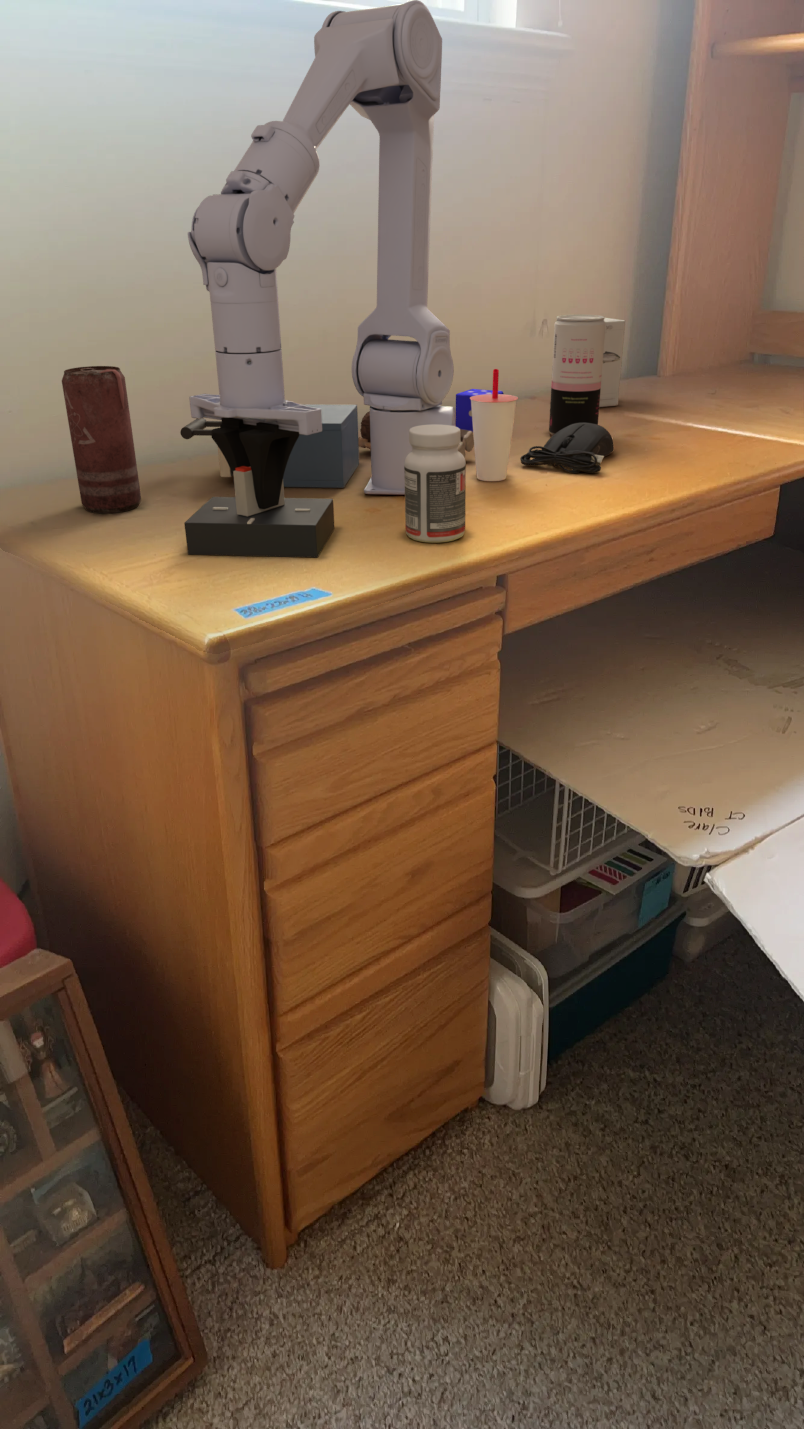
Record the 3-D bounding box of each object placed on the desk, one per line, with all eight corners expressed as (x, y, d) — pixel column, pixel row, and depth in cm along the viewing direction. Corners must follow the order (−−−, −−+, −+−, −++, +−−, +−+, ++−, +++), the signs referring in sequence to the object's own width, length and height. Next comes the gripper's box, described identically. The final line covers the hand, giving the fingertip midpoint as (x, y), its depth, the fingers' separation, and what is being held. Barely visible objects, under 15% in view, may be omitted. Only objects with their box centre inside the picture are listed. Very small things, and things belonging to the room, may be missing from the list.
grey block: (274, 502, 94) (271, 457, 92) (285, 504, 93) (282, 459, 91) (236, 514, 90) (232, 468, 88) (247, 516, 89) (243, 470, 87)
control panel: (334, 528, 96) (333, 496, 95) (317, 558, 88) (315, 523, 87) (215, 526, 98) (212, 494, 96) (187, 555, 89) (183, 521, 88)
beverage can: (553, 428, 138) (559, 314, 131) (600, 430, 136) (609, 314, 130) (544, 437, 133) (550, 318, 126) (593, 440, 131) (602, 319, 124)
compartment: (234, 486, 112) (228, 422, 108) (258, 462, 122) (254, 403, 119) (343, 488, 110) (341, 423, 107) (359, 464, 121) (357, 404, 117)
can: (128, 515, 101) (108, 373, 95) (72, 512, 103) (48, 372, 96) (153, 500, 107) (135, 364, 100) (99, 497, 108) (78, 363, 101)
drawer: (178, 476, 112) (173, 429, 110) (205, 456, 122) (200, 411, 119) (319, 478, 111) (317, 430, 108) (335, 457, 120) (333, 412, 117)
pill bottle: (472, 529, 95) (474, 424, 91) (455, 546, 91) (457, 437, 86) (415, 524, 97) (415, 421, 93) (396, 541, 92) (395, 433, 88)
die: (454, 430, 138) (455, 393, 136) (471, 424, 142) (471, 388, 139) (486, 433, 136) (487, 396, 133) (502, 427, 139) (503, 390, 137)
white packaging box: (580, 410, 150) (586, 322, 144) (553, 403, 156) (557, 318, 150) (619, 406, 153) (627, 319, 147) (590, 399, 159) (597, 315, 153)
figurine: (481, 468, 126) (381, 448, 132) (488, 425, 124) (387, 407, 130) (454, 470, 119) (350, 449, 125) (460, 425, 117) (355, 406, 123)
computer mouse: (636, 451, 125) (639, 420, 123) (596, 476, 114) (599, 442, 112) (561, 444, 129) (563, 413, 128) (516, 467, 118) (517, 434, 116)
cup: (510, 484, 111) (514, 373, 105) (463, 482, 112) (465, 371, 106) (518, 473, 115) (522, 366, 110) (473, 471, 117) (475, 364, 111)
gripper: (157, 349, 86) (175, 502, 92) (277, 361, 78) (288, 527, 85) (216, 341, 91) (229, 486, 97) (335, 351, 83) (341, 509, 90)
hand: (260, 504), depth 91 cm, fingers closed on grey block
